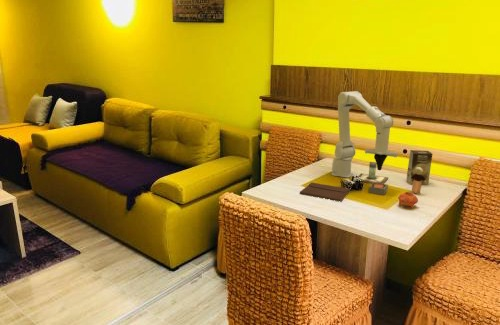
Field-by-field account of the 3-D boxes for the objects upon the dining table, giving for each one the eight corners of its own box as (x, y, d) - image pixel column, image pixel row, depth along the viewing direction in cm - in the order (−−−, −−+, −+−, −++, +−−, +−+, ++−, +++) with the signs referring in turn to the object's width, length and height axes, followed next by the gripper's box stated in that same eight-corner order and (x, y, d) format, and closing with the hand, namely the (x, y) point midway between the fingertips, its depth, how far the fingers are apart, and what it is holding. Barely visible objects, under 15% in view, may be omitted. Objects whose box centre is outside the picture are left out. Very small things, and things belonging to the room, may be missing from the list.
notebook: (340, 202, 180) (341, 198, 180) (299, 195, 190) (299, 191, 189) (350, 192, 193) (351, 188, 192) (311, 185, 202) (311, 181, 202)
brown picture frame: (354, 181, 207) (354, 179, 207) (361, 174, 217) (361, 172, 217) (382, 185, 201) (383, 183, 200) (388, 178, 211) (388, 176, 210)
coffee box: (409, 184, 202) (413, 153, 198) (406, 180, 208) (409, 149, 204) (428, 185, 201) (432, 153, 197) (424, 180, 207) (428, 150, 203)
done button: (372, 191, 191) (372, 186, 191) (374, 188, 195) (375, 183, 194) (381, 192, 189) (382, 187, 188) (384, 189, 193) (384, 184, 192)
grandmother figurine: (407, 193, 190) (410, 167, 187) (408, 190, 194) (411, 164, 190) (424, 195, 187) (428, 169, 184) (425, 193, 190) (429, 167, 187)
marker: (367, 178, 208) (368, 163, 206) (369, 176, 211) (370, 161, 209) (374, 179, 206) (375, 164, 204) (375, 177, 209) (377, 162, 207)
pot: (399, 200, 181) (404, 187, 178) (416, 208, 177) (422, 195, 174) (393, 205, 175) (398, 191, 172) (410, 213, 171) (416, 199, 168)
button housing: (368, 192, 191) (369, 186, 190) (372, 188, 197) (372, 182, 196) (384, 195, 188) (384, 189, 187) (387, 190, 193) (387, 184, 193)
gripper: (364, 141, 190) (361, 169, 194) (396, 145, 183) (393, 174, 187) (368, 138, 196) (365, 165, 200) (399, 142, 189) (396, 170, 193)
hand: (379, 169), depth 194 cm, fingers closed
